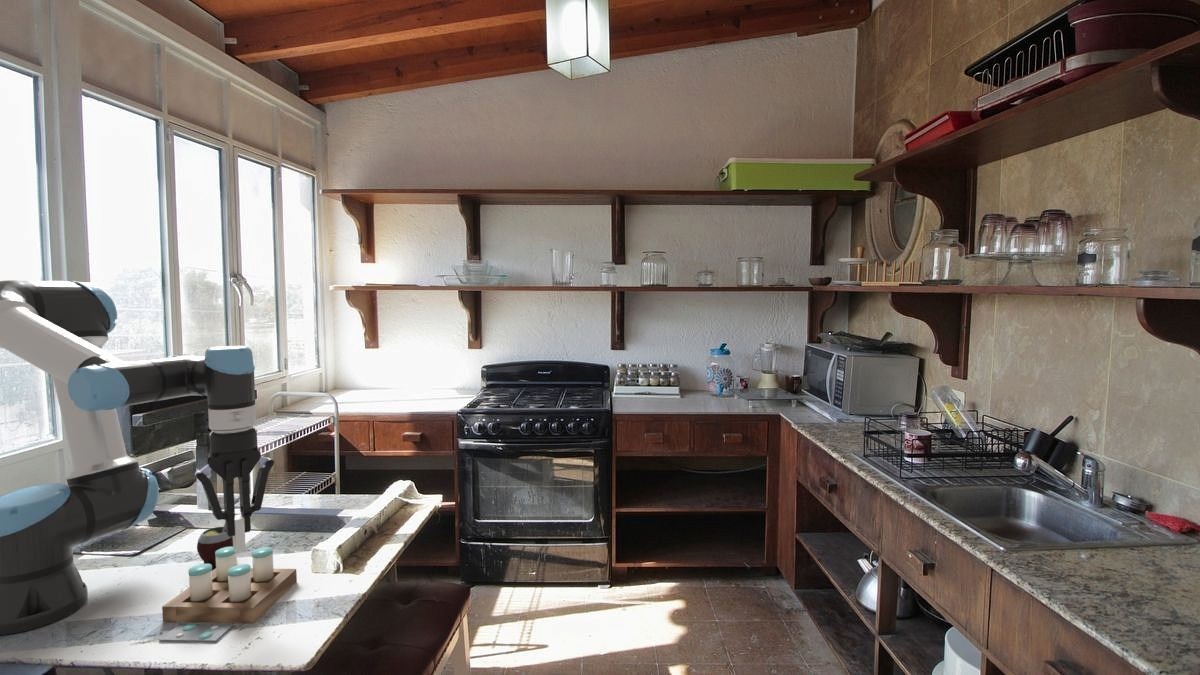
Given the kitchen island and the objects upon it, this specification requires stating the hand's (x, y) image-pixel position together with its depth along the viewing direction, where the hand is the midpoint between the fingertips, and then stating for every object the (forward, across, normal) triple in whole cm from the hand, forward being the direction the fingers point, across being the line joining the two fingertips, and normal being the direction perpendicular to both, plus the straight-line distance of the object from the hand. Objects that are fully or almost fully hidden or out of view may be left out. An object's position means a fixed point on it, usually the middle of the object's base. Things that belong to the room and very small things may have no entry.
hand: (239, 550), depth 109 cm
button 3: (+9, 0, 0) cm, 9 cm away
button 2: (+9, 0, +11) cm, 14 cm away
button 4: (+9, +5, +6) cm, 12 cm away
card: (+12, -8, -2) cm, 15 cm away
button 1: (+9, -6, +6) cm, 12 cm away
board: (+12, 0, +6) cm, 13 cm away
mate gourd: (+12, +1, +26) cm, 28 cm away
